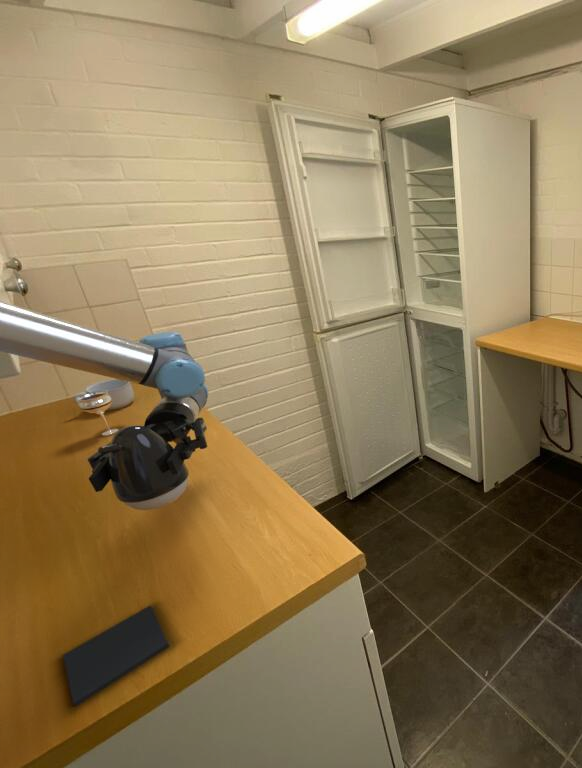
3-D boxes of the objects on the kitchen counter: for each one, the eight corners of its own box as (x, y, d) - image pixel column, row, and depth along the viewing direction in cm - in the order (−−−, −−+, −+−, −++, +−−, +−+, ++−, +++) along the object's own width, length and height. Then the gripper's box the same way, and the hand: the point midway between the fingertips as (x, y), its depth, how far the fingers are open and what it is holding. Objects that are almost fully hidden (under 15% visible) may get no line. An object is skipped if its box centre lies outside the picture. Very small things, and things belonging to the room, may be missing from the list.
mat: (76, 708, 53) (72, 703, 53) (65, 659, 59) (62, 655, 59) (170, 647, 60) (167, 643, 60) (152, 609, 66) (150, 605, 66)
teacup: (137, 396, 144) (128, 375, 141) (139, 406, 137) (129, 384, 134) (83, 410, 136) (71, 387, 133) (82, 421, 128) (69, 397, 125)
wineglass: (127, 424, 125) (110, 388, 120) (123, 434, 120) (105, 396, 115) (98, 431, 122) (79, 394, 117) (92, 441, 117) (72, 403, 112)
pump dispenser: (108, 519, 72) (67, 443, 66) (161, 481, 81) (128, 412, 75) (162, 521, 71) (124, 445, 64) (208, 483, 80) (180, 413, 74)
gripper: (238, 421, 93) (220, 476, 74) (114, 446, 85) (58, 514, 66) (228, 391, 90) (206, 440, 71) (98, 414, 82) (34, 475, 63)
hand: (134, 475), depth 69 cm, fingers closed on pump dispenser, 10 cm apart
